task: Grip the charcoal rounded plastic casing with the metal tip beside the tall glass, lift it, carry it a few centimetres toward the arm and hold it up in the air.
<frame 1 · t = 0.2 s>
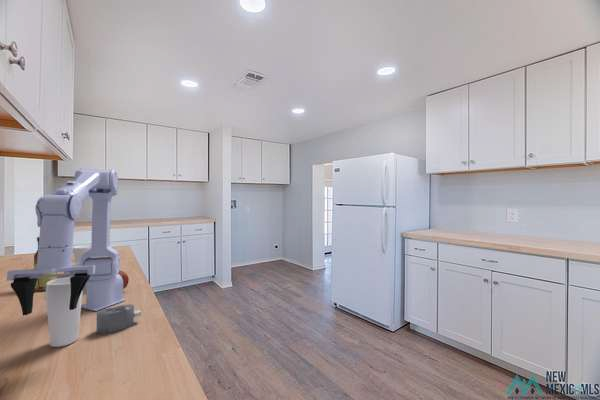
hand: (50, 311, 59), 10 cm above the table, tool pointing down, fingers open, 7 cm apart
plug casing: (115, 328, 73), on the table
mug: (87, 291, 101), on the table
drinking glass: (64, 343, 66), on the table
sauce bottle: (45, 289, 102), on the table
foam cup: (86, 275, 120), on the table
fruit: (115, 293, 99), on the table
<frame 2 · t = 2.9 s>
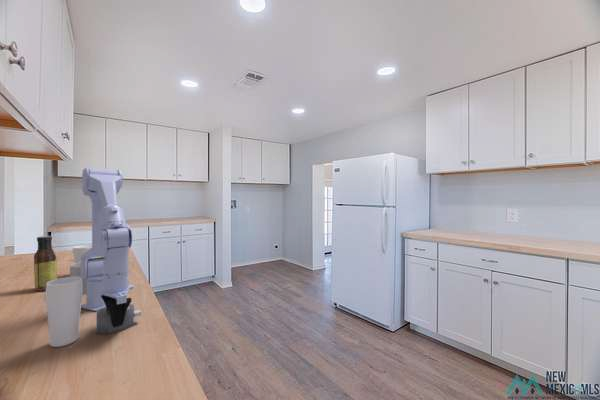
hand: (115, 322, 73), 1 cm above the table, tool pointing down, fingers closed on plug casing, 4 cm apart
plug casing: (115, 327, 73), on the table, touching gripper
everything else where it was.
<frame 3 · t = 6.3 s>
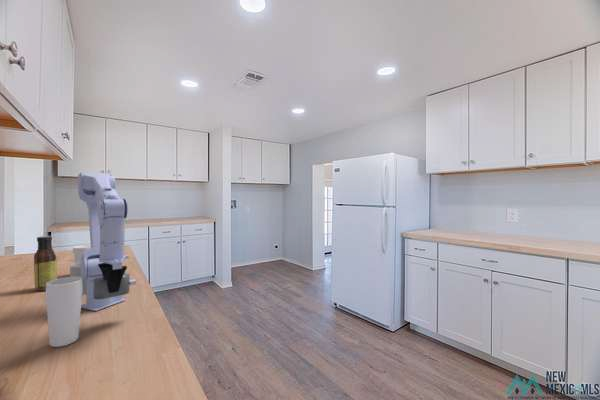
hand: (112, 289, 76), 9 cm above the table, tool pointing down, fingers closed on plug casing, 4 cm apart
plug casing: (112, 294, 77), point 8 cm above the table, touching gripper
everything else where it was.
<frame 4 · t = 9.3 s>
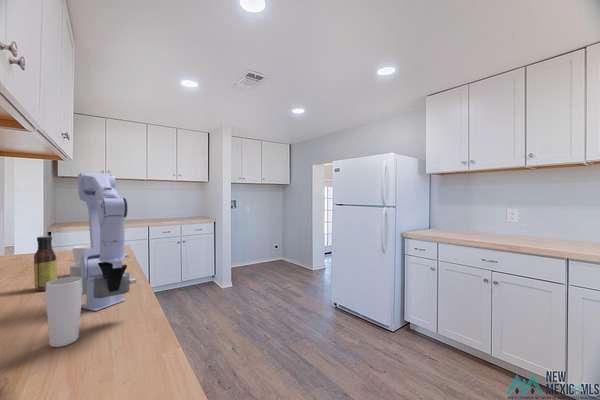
hand: (112, 288, 76), 9 cm above the table, tool pointing down, fingers closed on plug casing, 4 cm apart
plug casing: (112, 293, 77), point 8 cm above the table, touching gripper
everything else where it was.
at the end: the gripper is holding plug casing; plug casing point 8.0 cm above the table; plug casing inside the target area (0.0 cm from its centre), point 8.0 cm above the table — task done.
